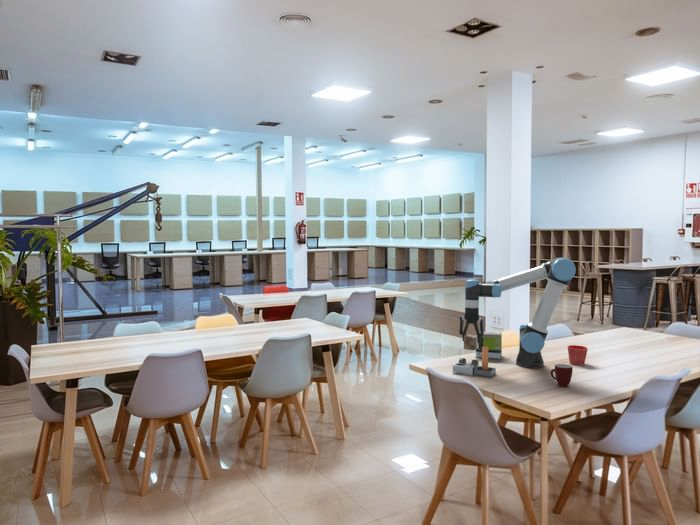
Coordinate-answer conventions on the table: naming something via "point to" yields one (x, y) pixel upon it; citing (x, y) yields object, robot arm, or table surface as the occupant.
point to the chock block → (470, 342)
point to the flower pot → (577, 354)
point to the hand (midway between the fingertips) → (471, 347)
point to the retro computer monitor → (491, 344)
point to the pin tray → (485, 372)
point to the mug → (562, 374)
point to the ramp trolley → (465, 366)
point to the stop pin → (485, 358)
